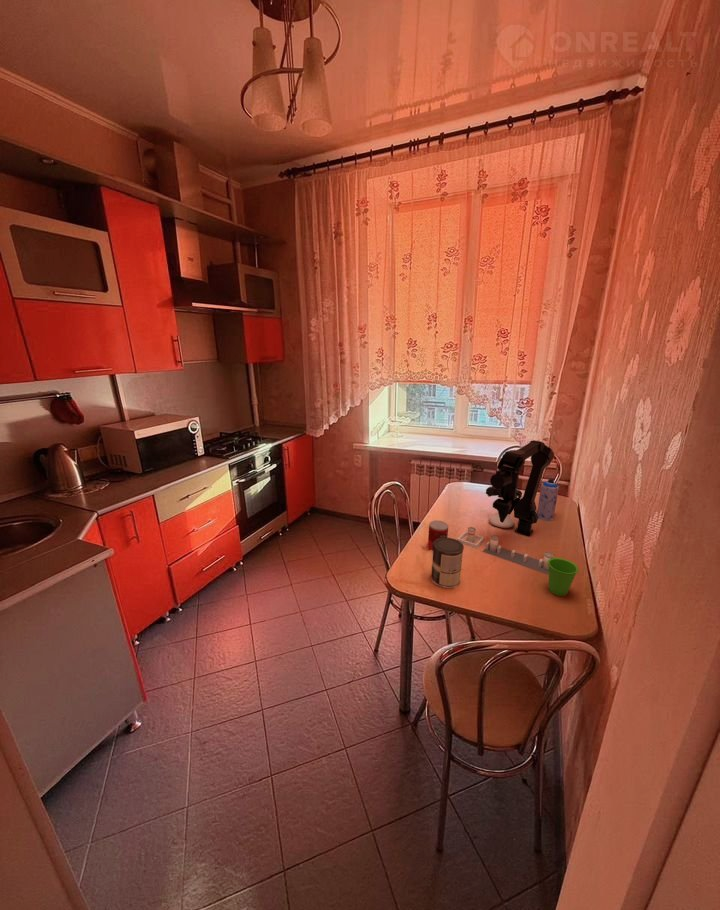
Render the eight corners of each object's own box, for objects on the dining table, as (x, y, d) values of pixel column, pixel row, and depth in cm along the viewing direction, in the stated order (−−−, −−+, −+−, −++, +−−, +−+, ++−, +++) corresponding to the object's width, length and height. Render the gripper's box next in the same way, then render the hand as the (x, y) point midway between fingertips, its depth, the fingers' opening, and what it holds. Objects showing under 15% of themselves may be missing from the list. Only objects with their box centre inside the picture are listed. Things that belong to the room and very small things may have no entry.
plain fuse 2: (543, 564, 136) (545, 550, 134) (552, 567, 134) (554, 553, 132) (541, 568, 134) (543, 554, 132) (550, 571, 132) (553, 557, 130)
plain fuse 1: (490, 547, 148) (492, 534, 146) (498, 549, 146) (500, 536, 144) (488, 550, 145) (489, 537, 144) (495, 552, 144) (497, 539, 142)
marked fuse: (468, 538, 155) (469, 526, 153) (475, 541, 153) (476, 528, 151) (465, 541, 152) (466, 528, 151) (472, 544, 150) (474, 531, 149)
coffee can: (425, 580, 128) (428, 545, 124) (439, 567, 135) (441, 534, 131) (452, 592, 122) (455, 556, 117) (465, 578, 129) (468, 543, 125)
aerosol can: (552, 522, 171) (559, 483, 166) (534, 518, 175) (541, 480, 170) (554, 516, 178) (561, 478, 172) (537, 512, 182) (543, 475, 176)
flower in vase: (519, 527, 166) (527, 477, 159) (500, 532, 162) (507, 480, 155) (499, 516, 178) (505, 468, 171) (480, 519, 174) (486, 471, 167)
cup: (562, 584, 126) (568, 557, 123) (578, 602, 117) (584, 573, 114) (537, 585, 126) (542, 557, 123) (551, 602, 117) (557, 573, 114)
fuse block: (489, 545, 151) (489, 538, 150) (557, 568, 135) (559, 560, 134) (482, 553, 145) (482, 546, 144) (552, 578, 129) (554, 570, 128)
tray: (464, 535, 159) (465, 531, 158) (483, 542, 153) (484, 537, 153) (456, 543, 152) (456, 538, 151) (476, 550, 147) (476, 545, 146)
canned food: (432, 555, 144) (434, 530, 141) (424, 544, 151) (425, 521, 148) (450, 552, 146) (452, 528, 143) (440, 542, 153) (442, 519, 150)
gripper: (497, 472, 155) (493, 505, 160) (481, 484, 141) (477, 520, 146) (524, 478, 149) (519, 512, 153) (510, 491, 135) (505, 528, 139)
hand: (505, 518), depth 148 cm, fingers open, 9 cm apart
